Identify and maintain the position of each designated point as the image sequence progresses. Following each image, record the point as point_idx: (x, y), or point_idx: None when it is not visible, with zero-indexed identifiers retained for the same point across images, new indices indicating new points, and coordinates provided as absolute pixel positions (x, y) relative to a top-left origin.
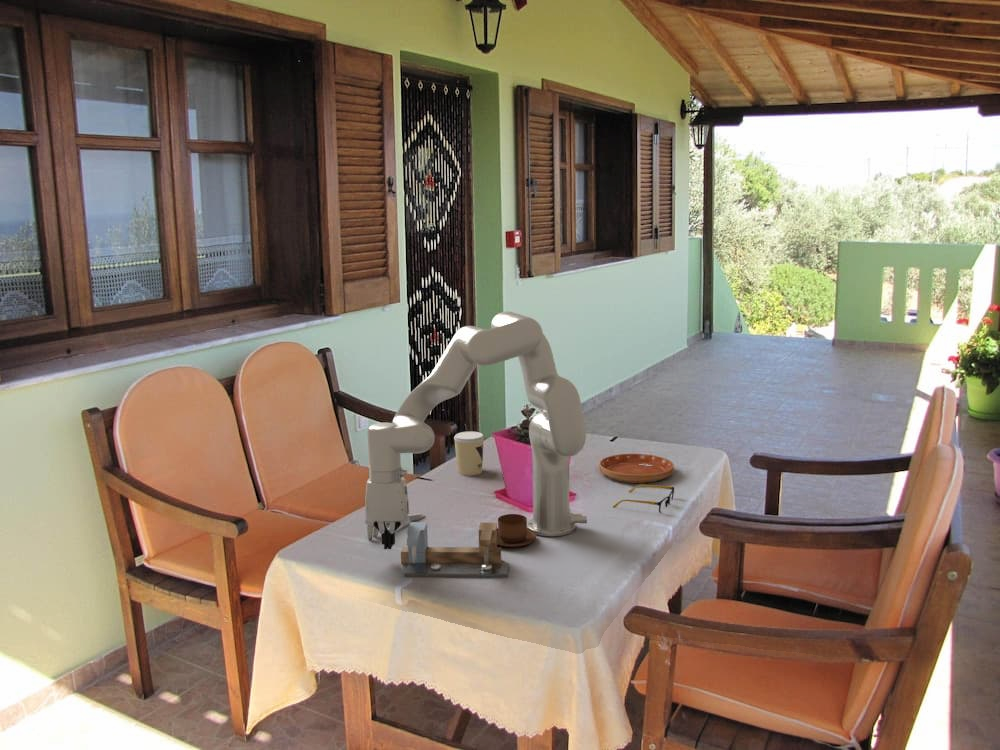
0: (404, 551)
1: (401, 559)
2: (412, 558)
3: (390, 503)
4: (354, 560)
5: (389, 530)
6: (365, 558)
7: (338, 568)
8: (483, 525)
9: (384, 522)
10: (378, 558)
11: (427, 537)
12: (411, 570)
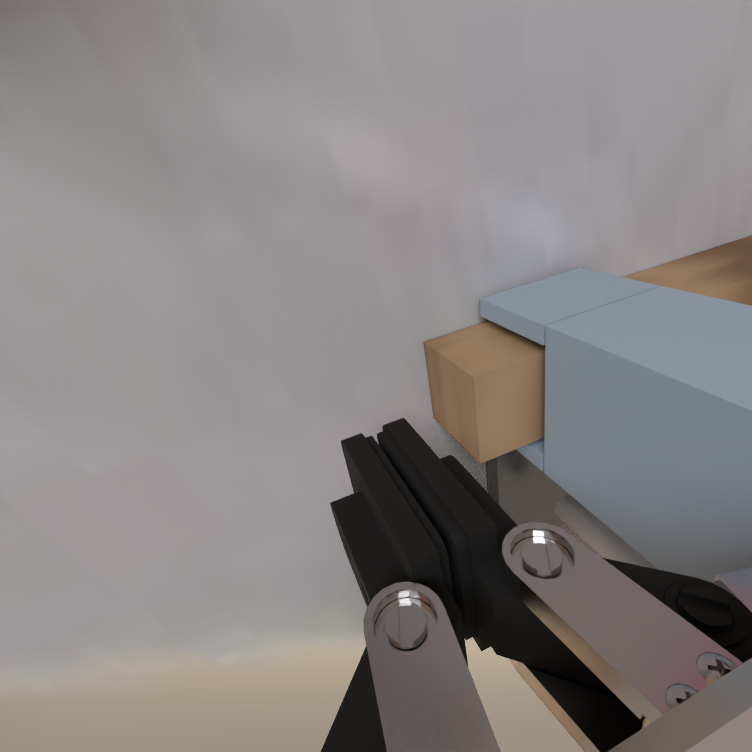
0: (503, 447)
1: (450, 431)
2: (577, 534)
3: None
4: (48, 507)
5: (525, 678)
6: (121, 440)
7: (28, 652)
8: None
9: (478, 737)
10: (236, 401)
11: (726, 304)
12: (528, 511)
